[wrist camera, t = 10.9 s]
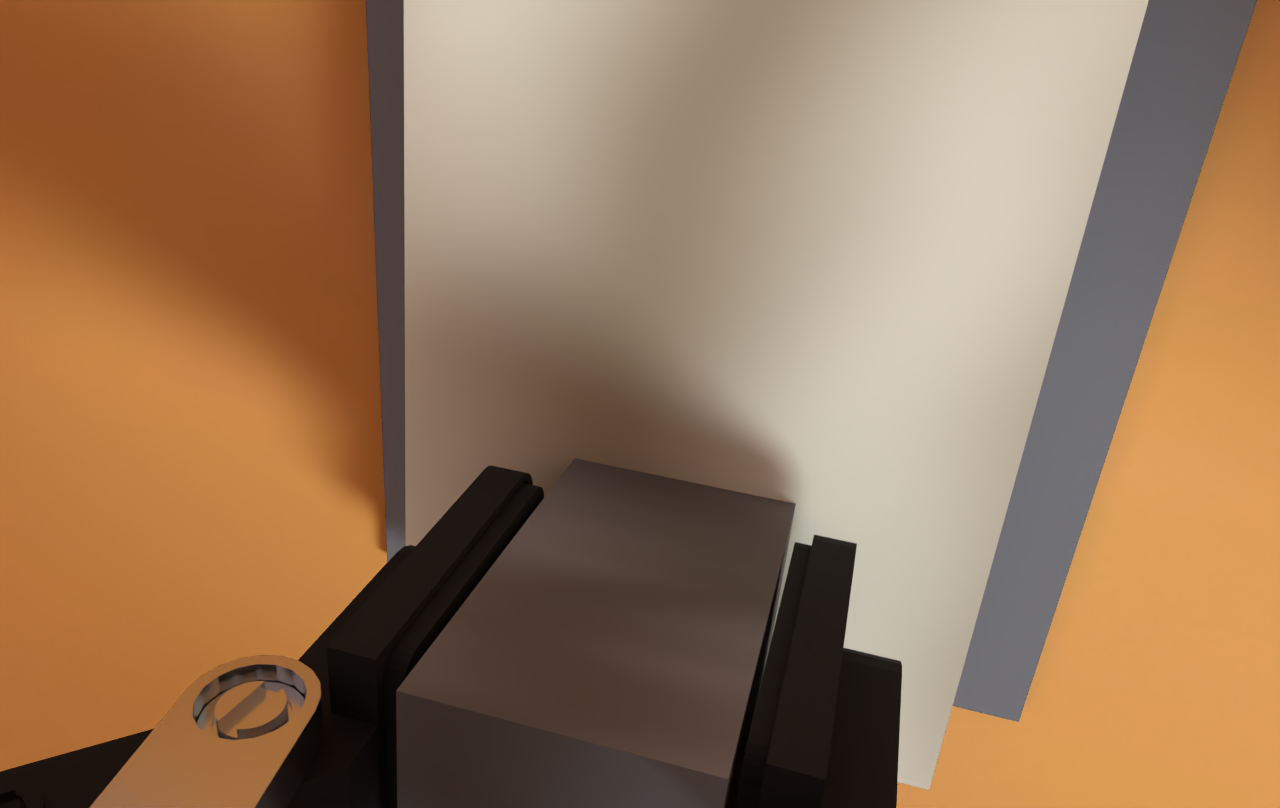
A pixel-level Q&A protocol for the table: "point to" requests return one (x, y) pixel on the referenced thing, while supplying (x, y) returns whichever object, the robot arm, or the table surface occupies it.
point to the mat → (1083, 346)
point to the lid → (723, 354)
